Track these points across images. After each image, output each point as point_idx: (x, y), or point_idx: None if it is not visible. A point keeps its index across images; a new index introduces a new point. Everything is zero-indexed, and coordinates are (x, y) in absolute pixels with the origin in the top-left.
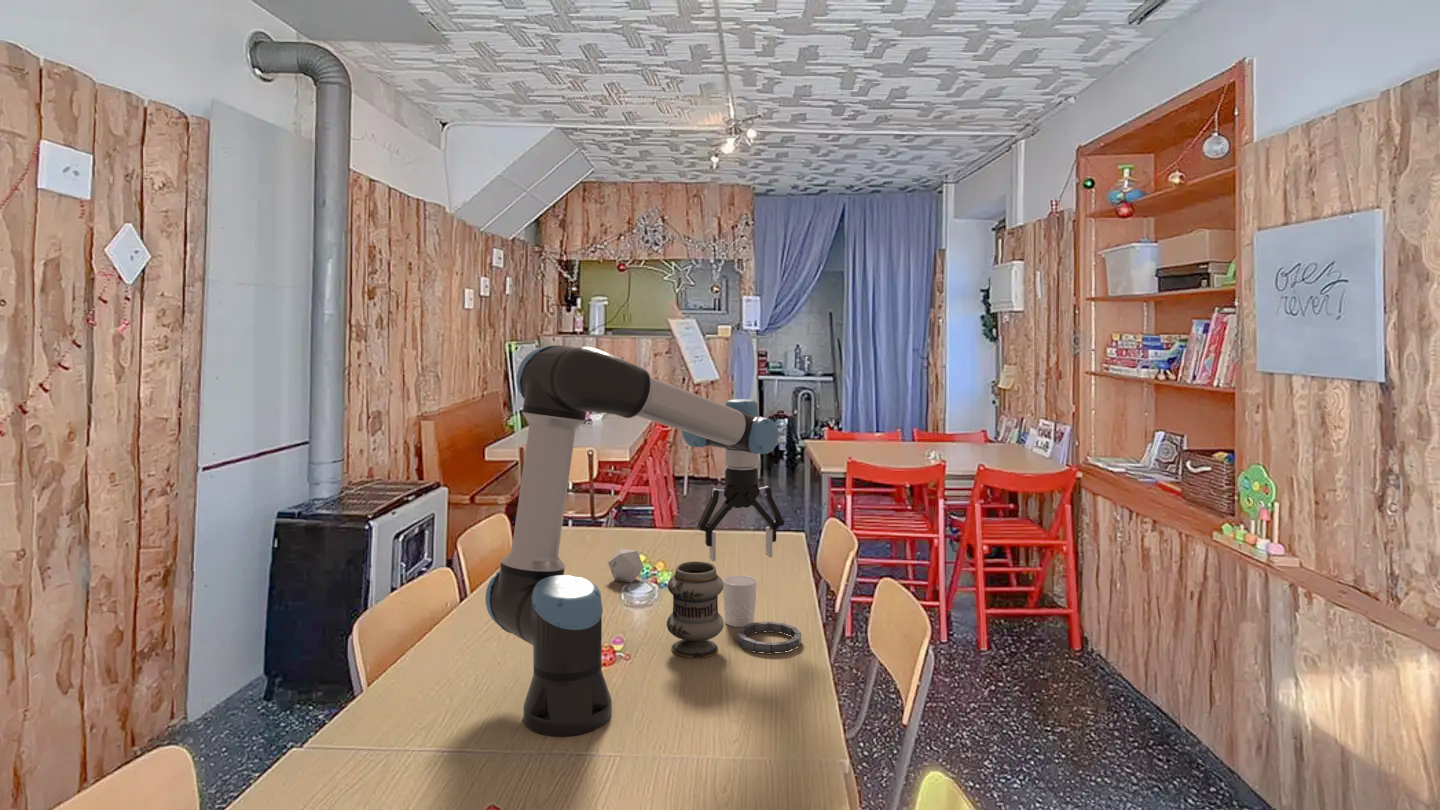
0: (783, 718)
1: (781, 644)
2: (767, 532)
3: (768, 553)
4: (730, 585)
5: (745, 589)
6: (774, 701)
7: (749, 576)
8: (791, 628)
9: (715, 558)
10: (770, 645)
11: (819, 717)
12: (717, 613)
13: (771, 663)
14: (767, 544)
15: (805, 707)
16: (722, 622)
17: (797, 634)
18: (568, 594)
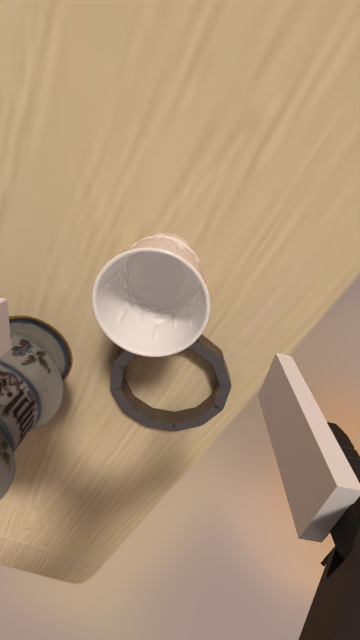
0: (86, 521)
1: (163, 428)
2: (305, 479)
3: (264, 397)
4: (104, 330)
5: (147, 348)
6: (91, 499)
7: (203, 284)
8: (220, 387)
9: (3, 354)
10: (144, 424)
11: (121, 530)
12: (31, 427)
13: (133, 435)
14: (281, 414)
15: (118, 516)
16: (50, 418)
17: (212, 411)
18: None
